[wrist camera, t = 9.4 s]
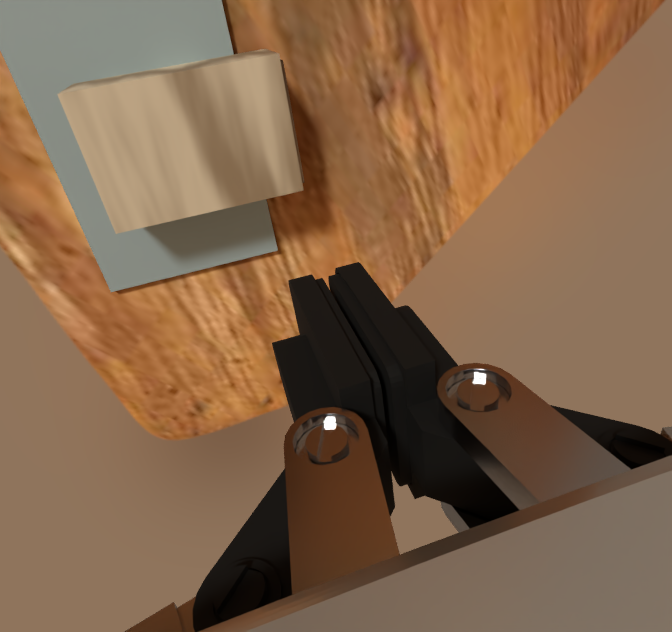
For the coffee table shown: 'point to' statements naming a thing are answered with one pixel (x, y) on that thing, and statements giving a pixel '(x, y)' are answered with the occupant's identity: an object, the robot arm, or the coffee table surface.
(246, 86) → the birch block
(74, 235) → the coffee table surface
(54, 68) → the grey mat
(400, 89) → the coffee table surface
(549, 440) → the robot arm
